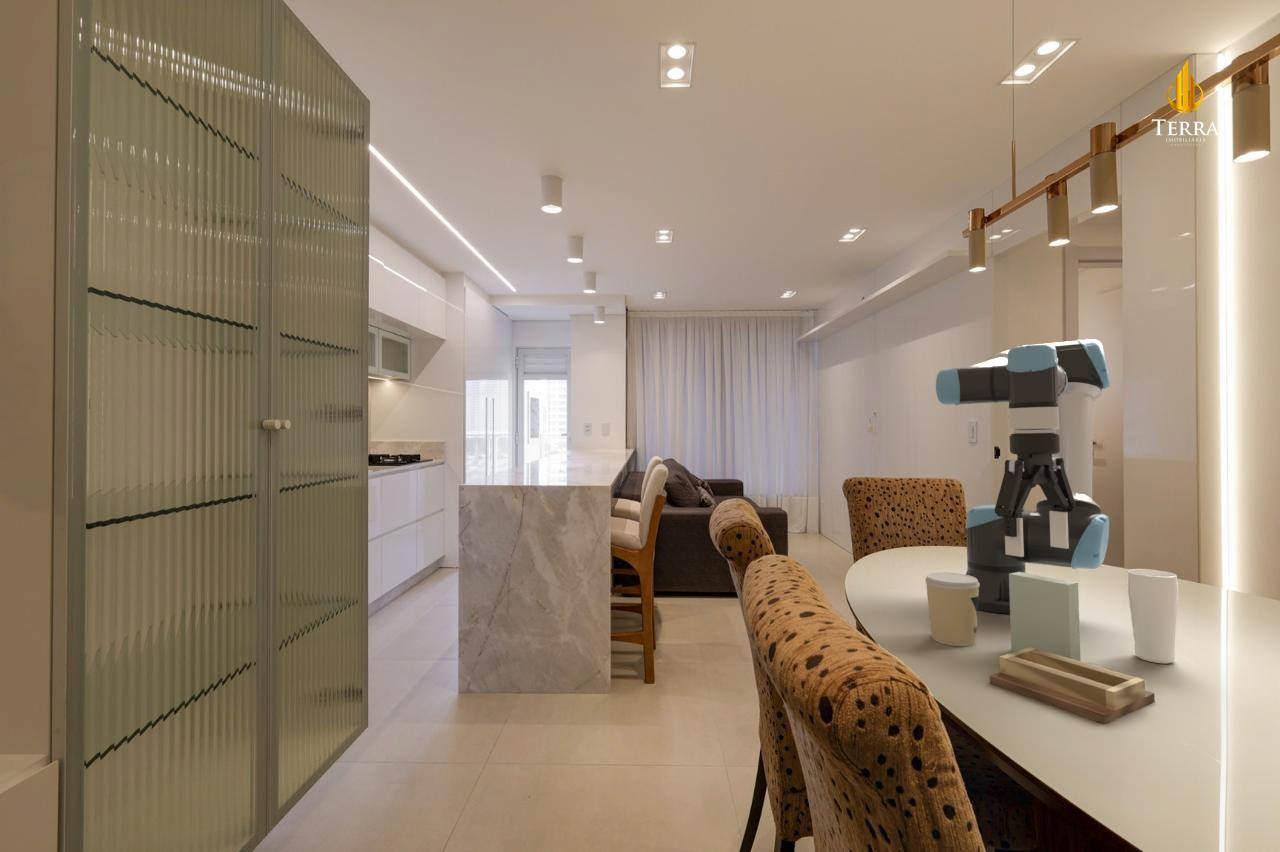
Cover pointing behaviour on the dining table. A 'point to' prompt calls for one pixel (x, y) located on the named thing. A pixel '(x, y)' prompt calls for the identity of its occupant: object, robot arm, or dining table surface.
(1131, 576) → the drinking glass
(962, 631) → the coffee cup
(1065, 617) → the door panel
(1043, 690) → the track board
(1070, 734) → the dining table surface
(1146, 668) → the dining table surface
